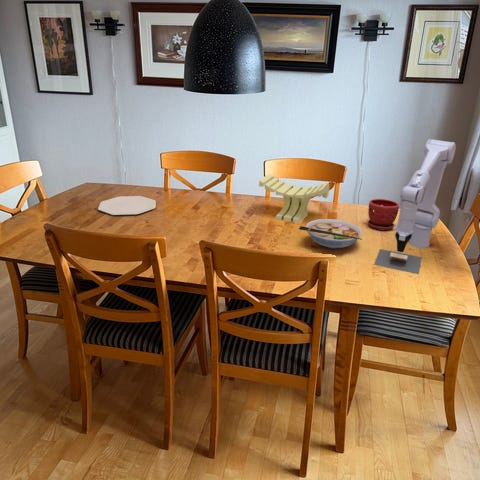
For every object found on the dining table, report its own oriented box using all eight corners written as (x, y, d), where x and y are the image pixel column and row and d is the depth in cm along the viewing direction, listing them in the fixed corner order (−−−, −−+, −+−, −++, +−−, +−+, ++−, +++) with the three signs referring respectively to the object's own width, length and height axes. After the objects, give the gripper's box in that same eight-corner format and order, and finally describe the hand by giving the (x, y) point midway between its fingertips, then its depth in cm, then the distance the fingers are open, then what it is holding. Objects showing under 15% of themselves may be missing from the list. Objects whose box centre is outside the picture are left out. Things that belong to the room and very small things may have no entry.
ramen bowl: (366, 240, 182) (369, 223, 179) (356, 262, 163) (360, 242, 160) (309, 230, 192) (311, 213, 188) (294, 249, 172) (296, 230, 169)
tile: (391, 255, 165) (390, 252, 160) (407, 258, 163) (407, 255, 157) (390, 259, 165) (390, 256, 159) (406, 262, 163) (406, 259, 157)
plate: (130, 195, 231) (130, 192, 230) (167, 206, 216) (167, 203, 216) (87, 208, 210) (87, 205, 210) (124, 221, 196) (124, 218, 195)
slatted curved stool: (325, 215, 209) (330, 180, 202) (317, 226, 196) (322, 189, 189) (268, 206, 220) (270, 172, 213) (257, 215, 207) (259, 180, 200)
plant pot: (400, 229, 196) (405, 204, 191) (380, 233, 190) (385, 208, 185) (379, 219, 207) (383, 196, 202) (359, 224, 200) (363, 200, 195)
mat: (379, 250, 173) (380, 248, 173) (421, 259, 167) (421, 257, 167) (373, 266, 160) (373, 264, 160) (418, 276, 154) (418, 274, 154)
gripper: (397, 210, 165) (391, 242, 170) (393, 222, 152) (386, 256, 158) (417, 213, 162) (410, 245, 167) (413, 225, 150) (406, 260, 155)
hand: (400, 251), depth 162 cm, fingers closed
